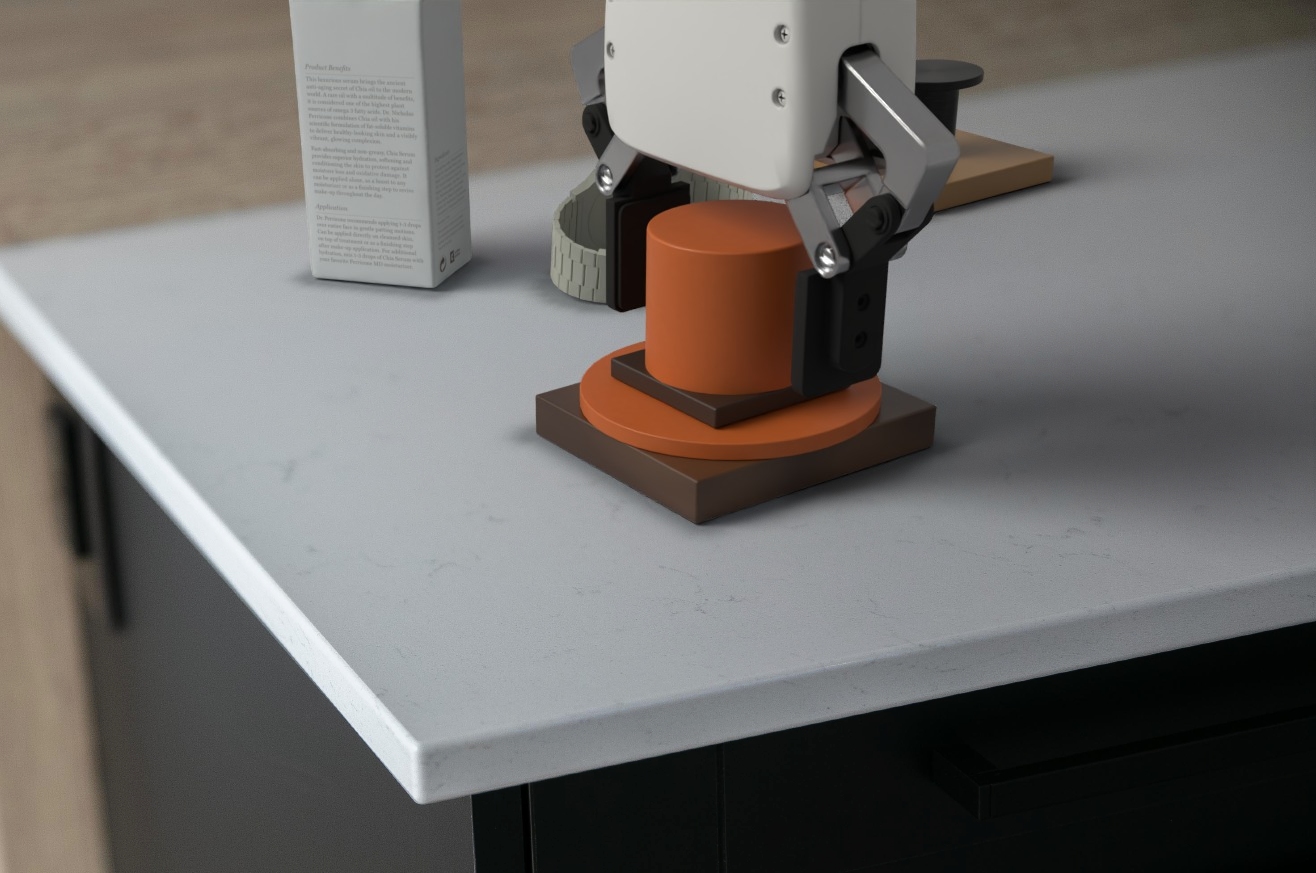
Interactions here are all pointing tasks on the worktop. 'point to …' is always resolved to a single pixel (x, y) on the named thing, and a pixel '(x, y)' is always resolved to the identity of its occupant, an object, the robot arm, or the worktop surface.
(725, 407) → the hat
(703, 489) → the shelf board
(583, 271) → the wristwatch
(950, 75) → the stand
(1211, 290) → the worktop surface
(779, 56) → the robot arm
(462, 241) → the cosmetic box
